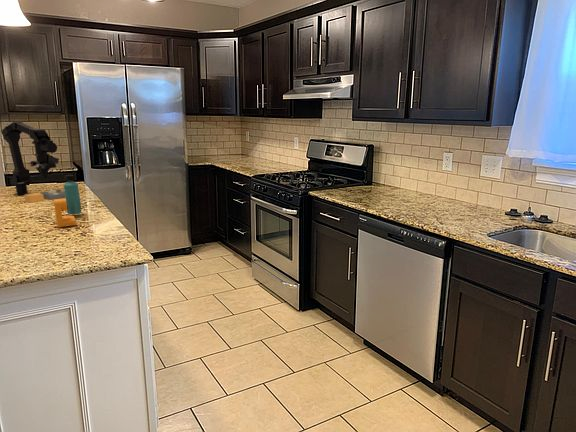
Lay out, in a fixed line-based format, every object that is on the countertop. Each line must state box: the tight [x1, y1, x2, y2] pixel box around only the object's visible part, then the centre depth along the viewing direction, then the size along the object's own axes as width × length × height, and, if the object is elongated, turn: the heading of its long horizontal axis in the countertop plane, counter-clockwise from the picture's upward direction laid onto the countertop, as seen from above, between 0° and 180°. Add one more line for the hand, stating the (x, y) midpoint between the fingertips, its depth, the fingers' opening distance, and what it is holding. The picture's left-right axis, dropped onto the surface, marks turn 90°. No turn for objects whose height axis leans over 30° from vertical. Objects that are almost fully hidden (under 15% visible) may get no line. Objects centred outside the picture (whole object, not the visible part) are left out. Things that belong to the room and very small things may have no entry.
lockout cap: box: [24, 192, 45, 204], centre depth 238 cm, size 7×7×4 cm
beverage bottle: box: [63, 174, 82, 215], centre depth 204 cm, size 6×7×20 cm
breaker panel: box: [39, 188, 65, 201], centre depth 249 cm, size 14×12×3 cm
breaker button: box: [47, 189, 57, 194], centre depth 248 cm, size 3×3×4 cm
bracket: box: [53, 198, 77, 228], centre depth 189 cm, size 11×7×12 cm, turn 31°
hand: (45, 179), depth 243 cm, fingers closed
